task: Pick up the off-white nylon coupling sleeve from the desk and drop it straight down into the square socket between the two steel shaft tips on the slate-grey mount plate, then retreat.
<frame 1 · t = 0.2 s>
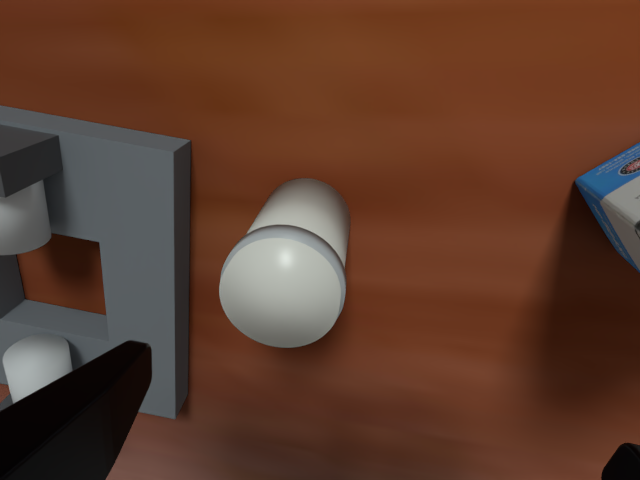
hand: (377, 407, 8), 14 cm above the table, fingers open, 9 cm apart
shaft mount: (69, 264, 25), on the table
coupler: (306, 220, 22), on the table
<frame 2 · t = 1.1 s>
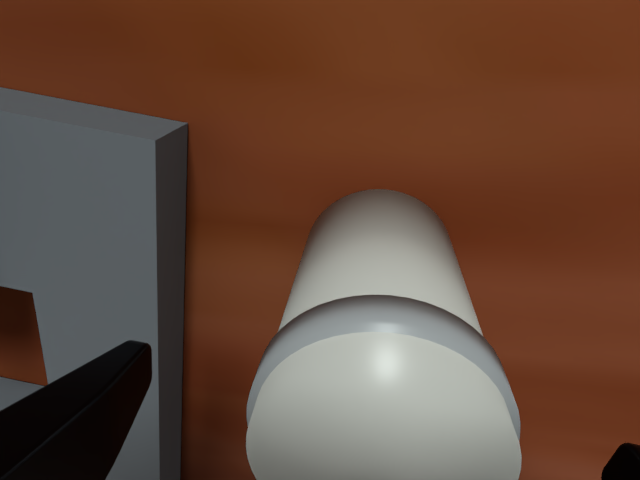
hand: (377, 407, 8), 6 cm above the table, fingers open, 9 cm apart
coupler: (377, 257, 13), on the table
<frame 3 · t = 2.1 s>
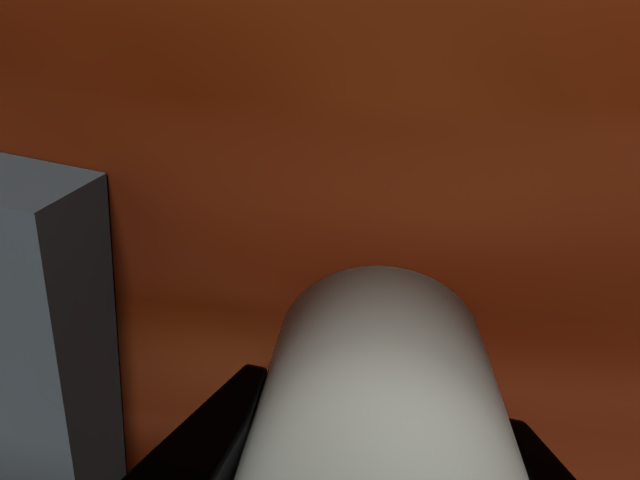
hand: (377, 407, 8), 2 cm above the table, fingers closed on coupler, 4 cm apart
coupler: (377, 352, 10), on the table, touching gripper
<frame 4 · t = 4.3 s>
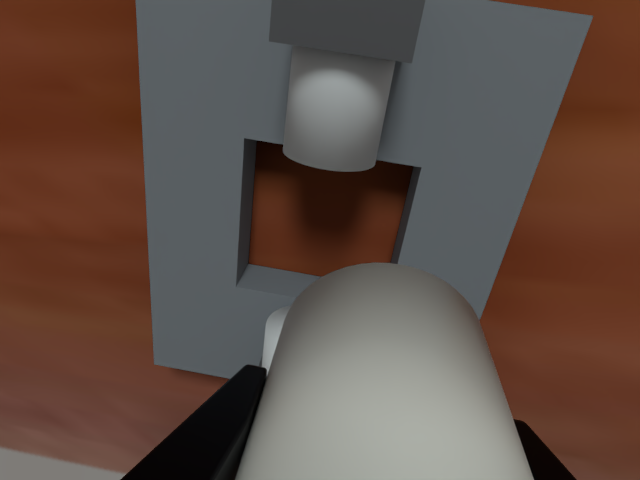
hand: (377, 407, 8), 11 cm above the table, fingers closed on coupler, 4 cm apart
shaft mount: (325, 212, 19), on the table
coupler: (379, 349, 10), point 10 cm above the table, touching gripper
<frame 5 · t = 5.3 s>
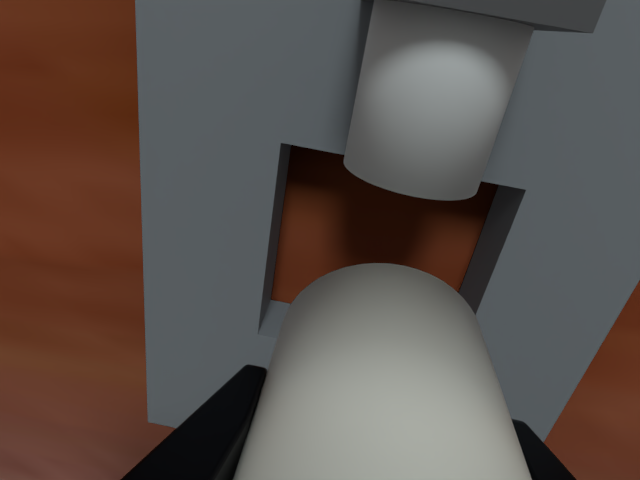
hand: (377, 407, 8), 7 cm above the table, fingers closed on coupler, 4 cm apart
shaft mount: (375, 240, 14), on the table
coupler: (378, 350, 10), point 5 cm above the table, touching gripper
when the fingers open (3 cm above the table, at t = 6.3 s): coupler drops 1 cm, resting in shaft mount.
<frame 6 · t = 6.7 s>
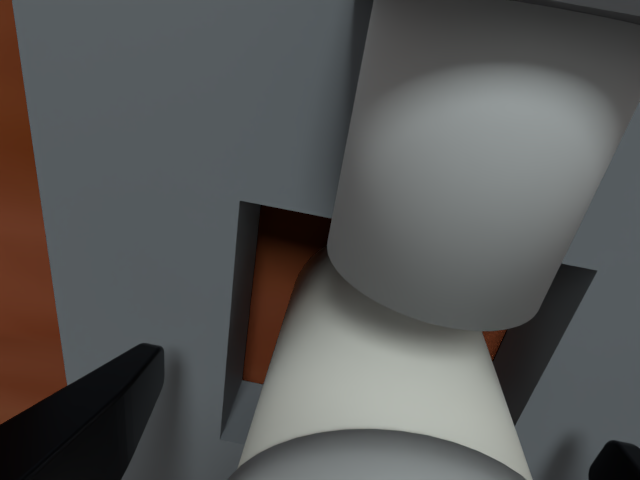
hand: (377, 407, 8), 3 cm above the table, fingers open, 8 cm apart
shaft mount: (376, 313, 11), on the table
coupler: (378, 310, 11), resting in shaft mount
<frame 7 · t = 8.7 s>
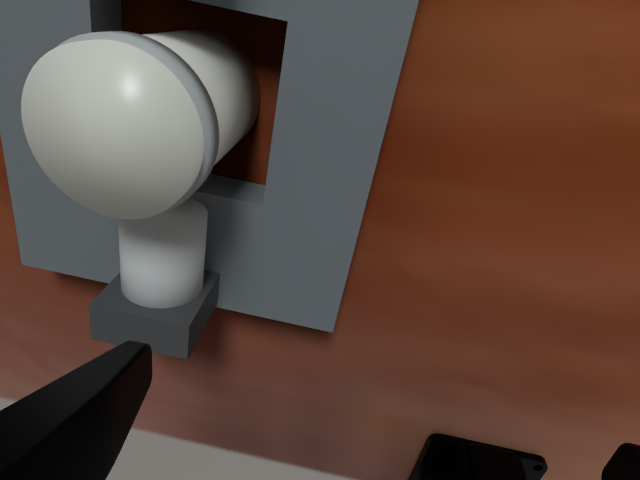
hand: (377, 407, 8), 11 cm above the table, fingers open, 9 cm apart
shaft mount: (203, 93, 17), on the table
coupler: (204, 92, 17), resting in shaft mount
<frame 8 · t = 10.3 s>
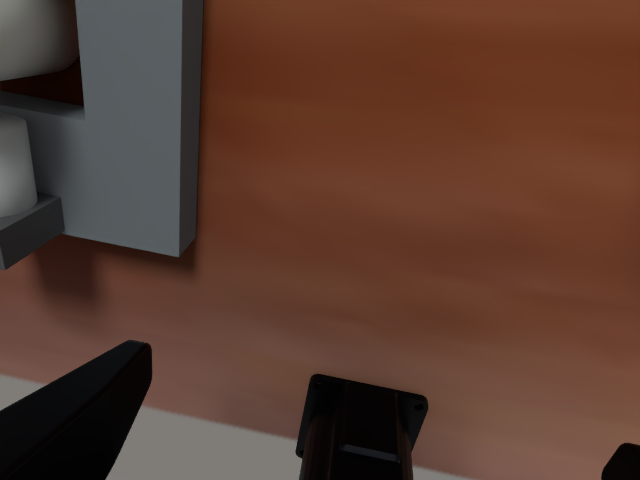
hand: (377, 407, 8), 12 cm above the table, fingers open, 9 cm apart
shaft mount: (30, 15, 17), on the table
coupler: (32, 14, 17), resting in shaft mount
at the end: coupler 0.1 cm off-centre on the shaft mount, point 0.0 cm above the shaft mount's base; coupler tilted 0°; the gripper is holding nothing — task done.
